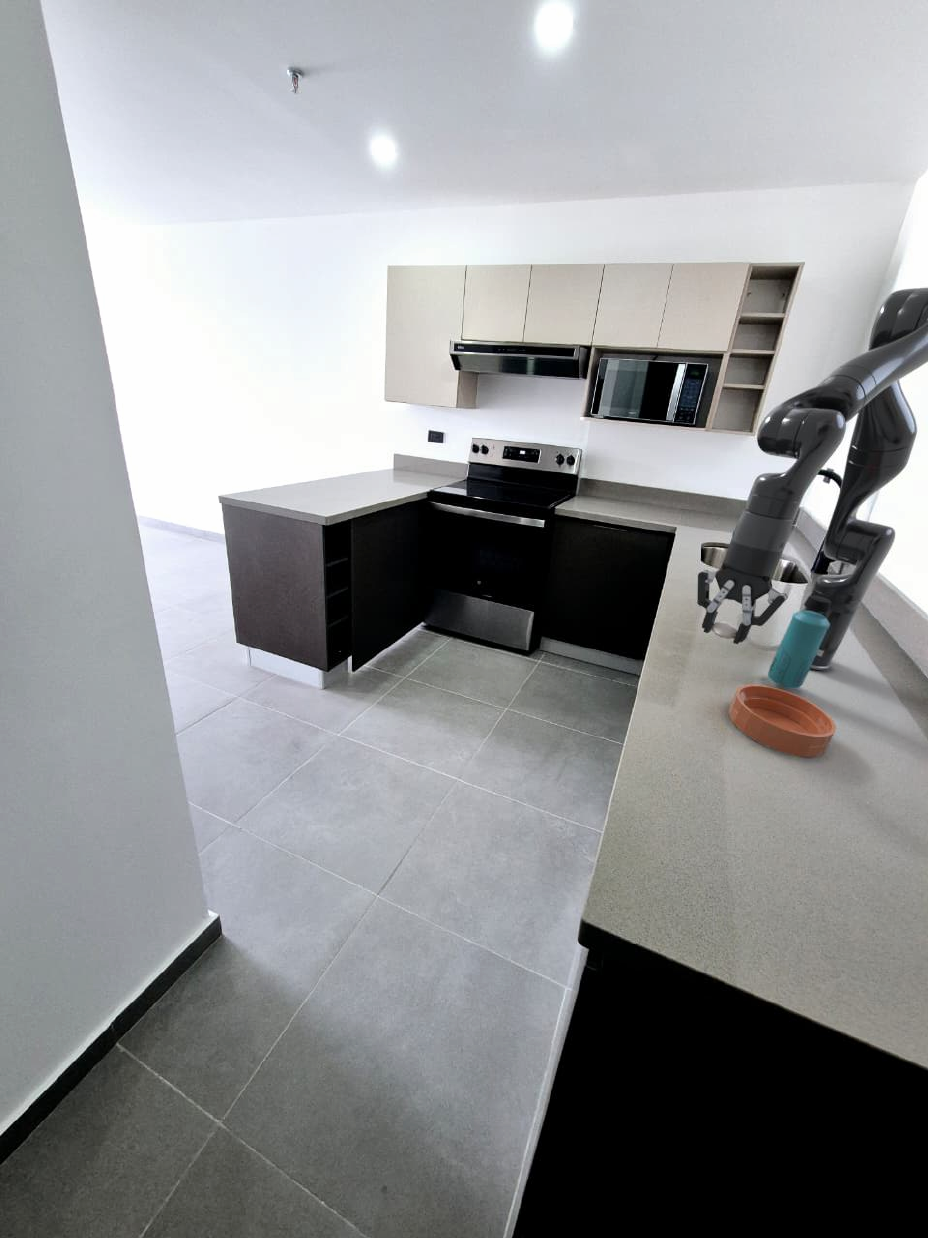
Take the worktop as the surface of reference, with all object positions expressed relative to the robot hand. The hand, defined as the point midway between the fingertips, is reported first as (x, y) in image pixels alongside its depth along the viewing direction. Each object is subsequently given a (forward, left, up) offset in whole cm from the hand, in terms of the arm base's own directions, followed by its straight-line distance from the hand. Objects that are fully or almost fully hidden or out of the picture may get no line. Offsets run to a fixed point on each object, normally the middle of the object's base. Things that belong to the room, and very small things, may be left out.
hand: (721, 636), depth 84 cm
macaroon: (0, 0, 0) cm, 0 cm away
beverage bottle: (-24, +10, -14) cm, 29 cm away
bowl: (-4, +13, -14) cm, 19 cm away
